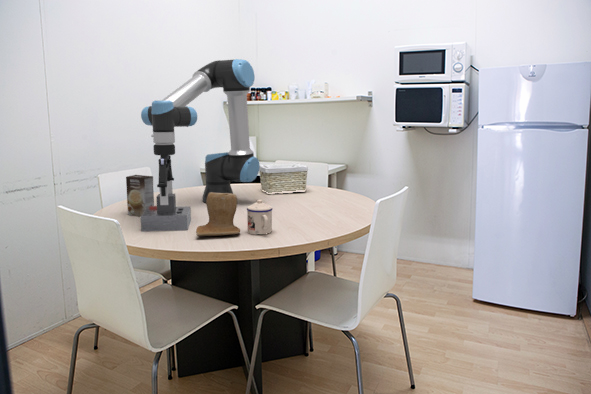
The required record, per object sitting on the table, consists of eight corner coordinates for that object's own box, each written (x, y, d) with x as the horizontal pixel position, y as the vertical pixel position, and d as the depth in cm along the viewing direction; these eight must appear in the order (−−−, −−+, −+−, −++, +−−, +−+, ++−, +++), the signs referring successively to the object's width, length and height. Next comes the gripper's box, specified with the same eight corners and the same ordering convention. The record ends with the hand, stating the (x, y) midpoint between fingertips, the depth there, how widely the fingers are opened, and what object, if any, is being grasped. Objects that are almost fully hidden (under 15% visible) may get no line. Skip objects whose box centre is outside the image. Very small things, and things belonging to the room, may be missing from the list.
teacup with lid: (243, 230, 164) (243, 198, 162) (267, 228, 168) (267, 197, 166) (253, 238, 153) (253, 204, 151) (279, 236, 157) (279, 203, 155)
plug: (176, 221, 174) (175, 193, 172) (174, 225, 168) (173, 196, 166) (160, 222, 173) (158, 193, 171) (157, 226, 167) (156, 196, 165)
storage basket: (265, 195, 235) (265, 167, 232) (257, 190, 250) (257, 164, 247) (308, 193, 242) (309, 166, 240) (299, 188, 257) (299, 163, 255)
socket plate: (190, 219, 179) (190, 204, 178) (187, 230, 164) (186, 212, 163) (148, 220, 177) (148, 205, 176) (141, 231, 161) (140, 213, 160)
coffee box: (126, 215, 186) (124, 176, 183) (137, 212, 192) (135, 174, 189) (145, 217, 183) (143, 177, 181) (155, 214, 189) (153, 175, 186)
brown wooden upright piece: (237, 229, 166) (237, 188, 163) (241, 237, 155) (241, 194, 152) (195, 231, 162) (194, 189, 160) (196, 240, 151) (195, 195, 148)
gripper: (158, 141, 176) (161, 195, 180) (147, 146, 152) (150, 208, 156) (178, 141, 178) (180, 195, 181) (170, 146, 153) (173, 207, 157)
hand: (166, 201), depth 169 cm, fingers open, 13 cm apart
